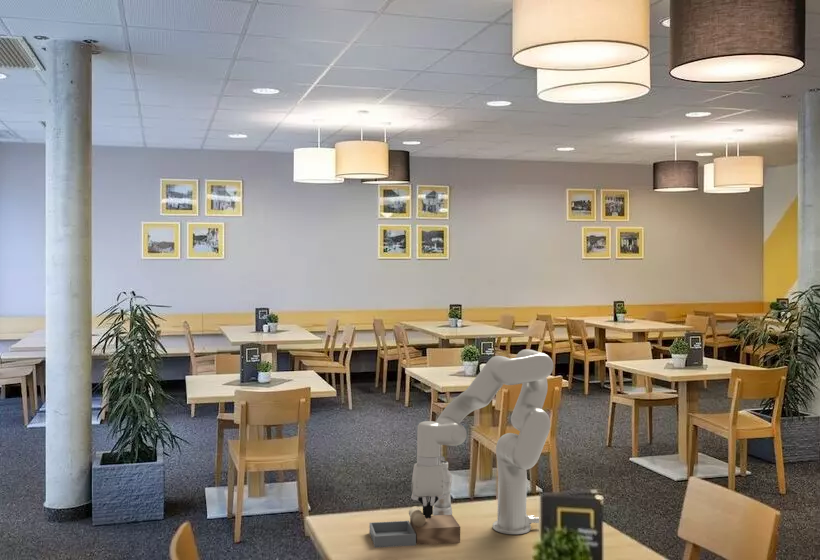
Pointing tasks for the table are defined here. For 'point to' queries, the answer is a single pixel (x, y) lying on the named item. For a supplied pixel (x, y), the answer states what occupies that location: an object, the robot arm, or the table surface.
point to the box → (392, 534)
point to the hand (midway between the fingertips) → (427, 517)
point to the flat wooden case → (437, 530)
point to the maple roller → (417, 516)
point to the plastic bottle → (444, 504)
